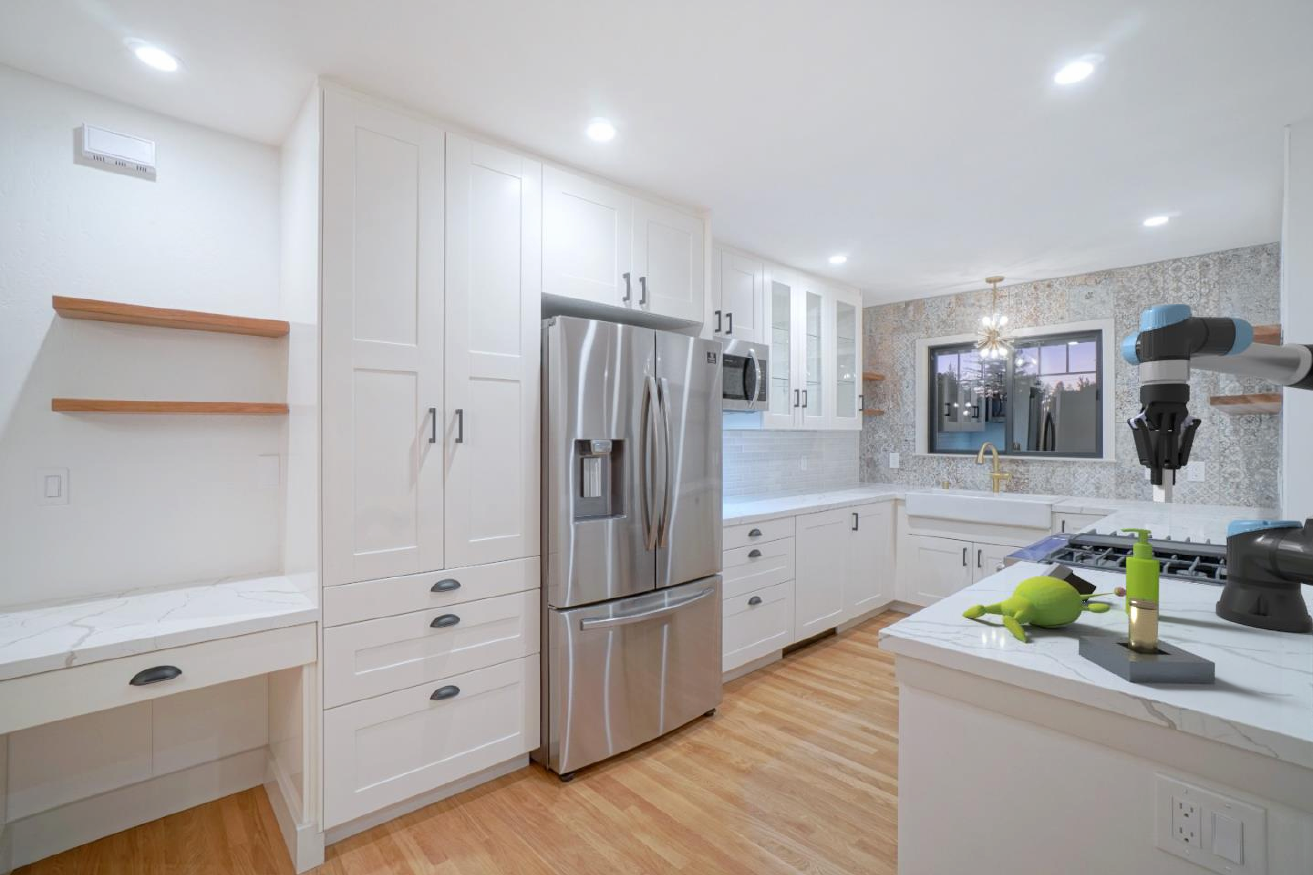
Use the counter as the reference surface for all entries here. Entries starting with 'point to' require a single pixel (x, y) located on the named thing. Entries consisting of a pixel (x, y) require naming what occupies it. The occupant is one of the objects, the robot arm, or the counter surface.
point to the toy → (1041, 605)
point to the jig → (1147, 661)
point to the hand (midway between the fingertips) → (1162, 501)
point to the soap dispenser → (1142, 570)
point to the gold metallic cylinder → (1143, 626)
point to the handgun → (1070, 579)
